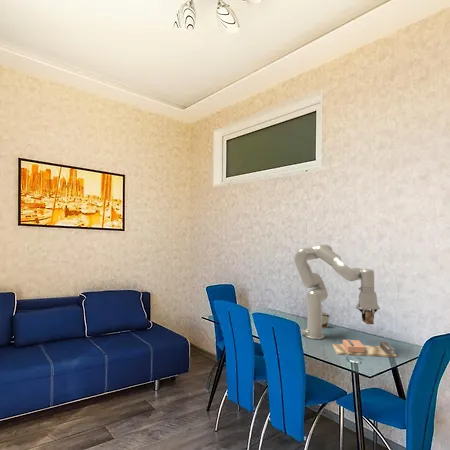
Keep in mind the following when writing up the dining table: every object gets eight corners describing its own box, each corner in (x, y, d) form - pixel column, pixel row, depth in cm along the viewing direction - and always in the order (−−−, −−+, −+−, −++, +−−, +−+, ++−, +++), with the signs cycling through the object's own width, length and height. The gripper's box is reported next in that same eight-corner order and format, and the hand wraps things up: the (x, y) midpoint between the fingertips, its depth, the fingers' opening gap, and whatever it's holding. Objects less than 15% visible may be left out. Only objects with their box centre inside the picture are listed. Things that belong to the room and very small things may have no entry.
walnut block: (366, 324, 204) (366, 312, 204) (362, 320, 212) (362, 309, 212) (373, 324, 204) (373, 312, 204) (369, 320, 212) (368, 309, 212)
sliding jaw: (347, 351, 199) (347, 344, 199) (342, 344, 211) (342, 337, 211) (365, 352, 198) (365, 345, 198) (359, 345, 210) (359, 338, 210)
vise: (337, 354, 199) (337, 347, 199) (332, 345, 213) (332, 339, 213) (396, 357, 196) (396, 349, 196) (387, 348, 210) (387, 341, 210)
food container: (327, 325, 256) (327, 312, 256) (329, 328, 250) (329, 314, 250) (310, 324, 257) (311, 311, 257) (312, 327, 251) (312, 313, 251)
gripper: (355, 290, 205) (355, 321, 205) (384, 290, 204) (384, 321, 203) (351, 288, 212) (352, 318, 212) (379, 288, 211) (379, 318, 211)
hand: (367, 319), depth 208 cm, fingers closed on walnut block, 4 cm apart
